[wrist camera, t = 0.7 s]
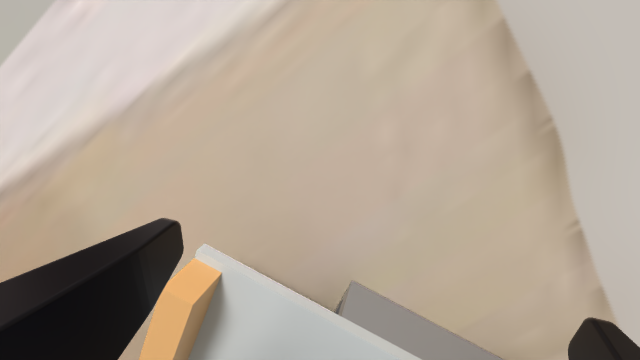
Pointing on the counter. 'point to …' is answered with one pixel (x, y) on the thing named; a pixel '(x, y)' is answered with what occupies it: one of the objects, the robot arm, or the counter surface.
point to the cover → (250, 319)
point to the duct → (405, 327)
